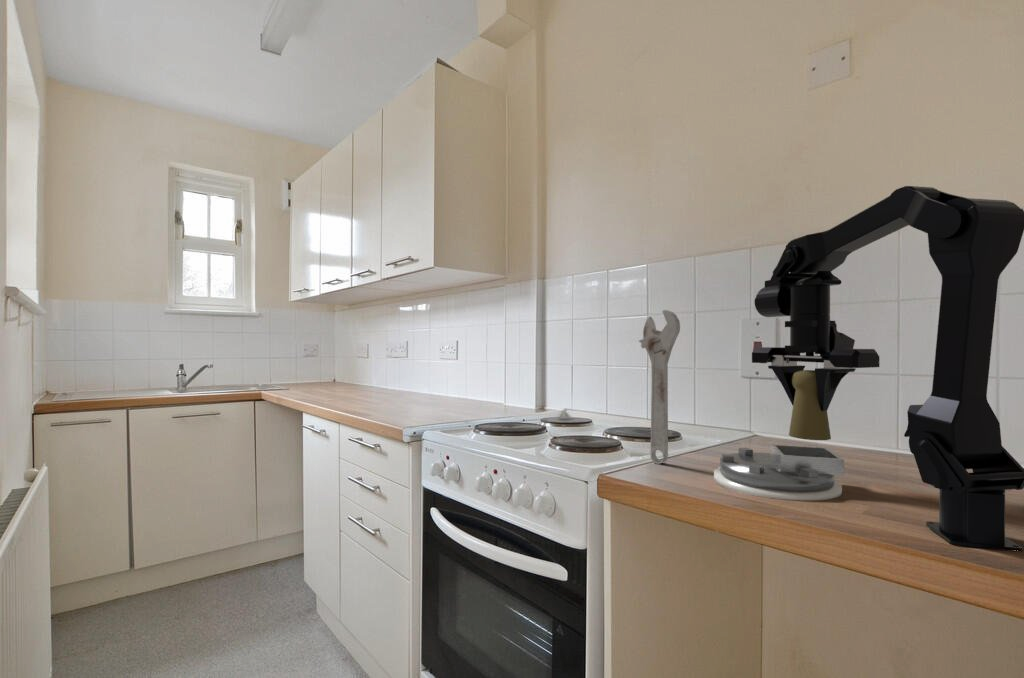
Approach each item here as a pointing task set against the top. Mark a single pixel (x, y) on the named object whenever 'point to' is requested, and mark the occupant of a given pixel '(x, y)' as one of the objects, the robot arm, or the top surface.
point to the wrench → (660, 378)
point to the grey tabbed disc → (784, 468)
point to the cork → (808, 409)
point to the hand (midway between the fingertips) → (809, 408)
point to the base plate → (777, 494)
